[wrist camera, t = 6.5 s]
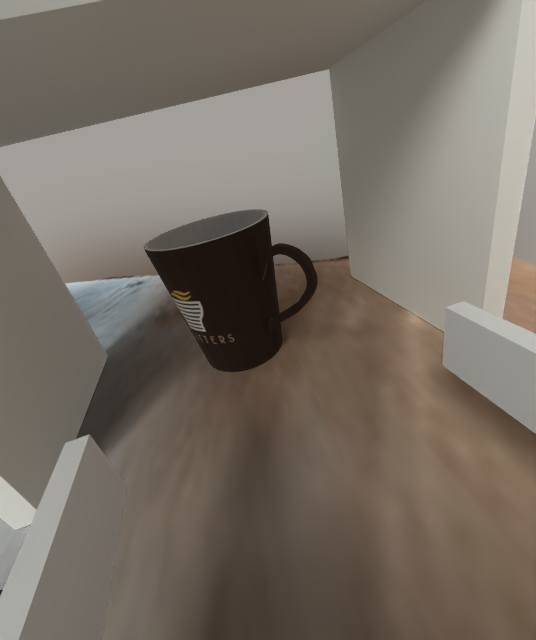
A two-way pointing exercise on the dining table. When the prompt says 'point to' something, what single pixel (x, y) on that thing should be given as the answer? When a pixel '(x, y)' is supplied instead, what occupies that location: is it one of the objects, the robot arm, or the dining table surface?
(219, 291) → the coffee mug
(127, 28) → the shelf stand
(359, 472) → the dining table surface
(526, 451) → the dining table surface
